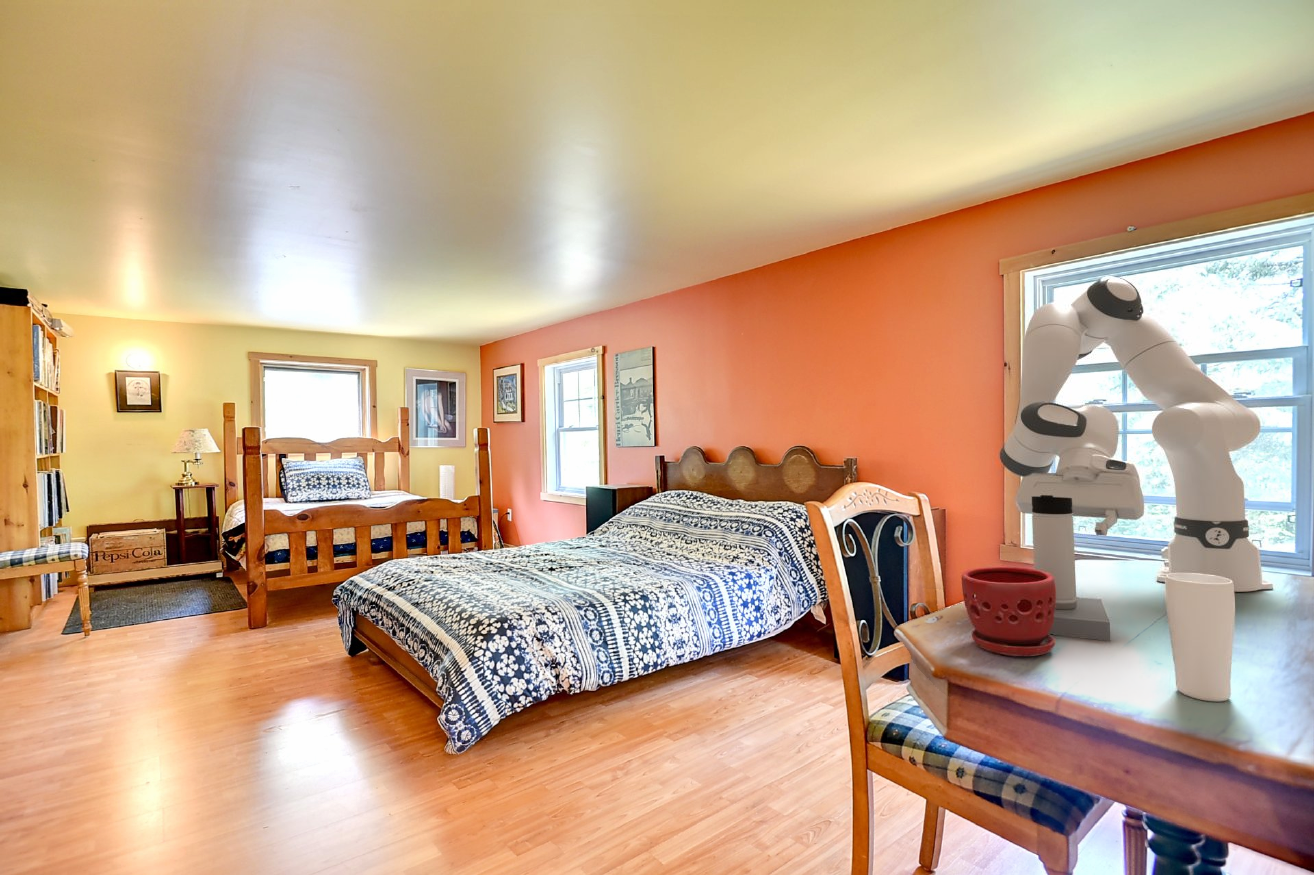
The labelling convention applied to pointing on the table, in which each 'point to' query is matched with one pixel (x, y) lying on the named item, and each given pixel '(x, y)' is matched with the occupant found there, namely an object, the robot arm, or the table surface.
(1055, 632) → the gray rectangular block
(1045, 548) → the travel mug
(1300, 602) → the table surface
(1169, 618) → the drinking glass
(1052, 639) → the plant pot
